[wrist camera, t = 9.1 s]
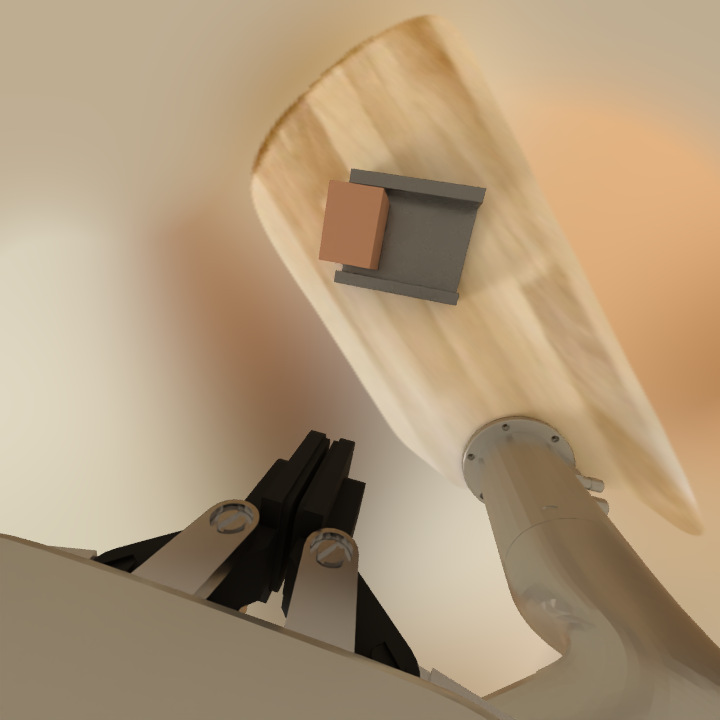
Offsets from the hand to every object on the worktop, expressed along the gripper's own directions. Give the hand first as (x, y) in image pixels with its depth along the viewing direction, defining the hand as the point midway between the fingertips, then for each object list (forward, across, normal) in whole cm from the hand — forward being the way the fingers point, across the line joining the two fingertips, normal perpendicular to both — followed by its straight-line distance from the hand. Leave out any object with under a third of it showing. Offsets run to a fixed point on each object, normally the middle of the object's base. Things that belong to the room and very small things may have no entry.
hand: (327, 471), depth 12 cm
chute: (+29, +1, -11) cm, 31 cm away
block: (+28, +6, -11) cm, 30 cm away
